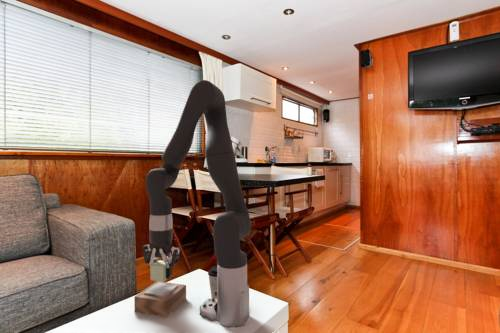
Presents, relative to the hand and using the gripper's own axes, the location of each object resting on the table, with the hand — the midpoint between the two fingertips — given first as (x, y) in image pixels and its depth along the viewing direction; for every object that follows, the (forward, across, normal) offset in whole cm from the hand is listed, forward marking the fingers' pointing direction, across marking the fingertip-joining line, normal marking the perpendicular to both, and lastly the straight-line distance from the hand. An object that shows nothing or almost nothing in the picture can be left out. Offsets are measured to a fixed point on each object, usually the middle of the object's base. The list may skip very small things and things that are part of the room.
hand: (161, 276), depth 93 cm
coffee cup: (+10, -16, -11) cm, 22 cm away
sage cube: (0, 0, 0) cm, 0 cm away
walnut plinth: (+10, 0, 0) cm, 10 cm away
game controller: (+10, -18, -1) cm, 21 cm away
